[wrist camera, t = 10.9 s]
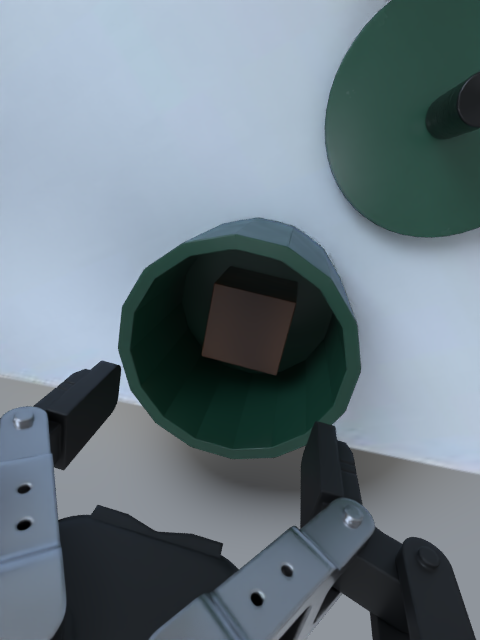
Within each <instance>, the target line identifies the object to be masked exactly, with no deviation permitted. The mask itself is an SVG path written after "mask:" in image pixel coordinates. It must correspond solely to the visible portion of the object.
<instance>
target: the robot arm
mask: <svg viewBox="0 0 480 640" xmlns="http://www.w3.org/2000/svg"><path fill="white" fill-rule="evenodd" d="M120 376H121V367H120V366H119V365H116V364H112V363H109V362H105V361H100V362H99V363H98V364H97V365H96V366H94V367H93V368H92V369H91V370H88V369H84V370H81V371H78V372H76V373H73V374H72V375H71V376H69V377H68V378H67V379H66V380H65V381H64V382H62V383H61V384H60V385H59V386H58V387H57V388H55V389H54V390H53V391H52V392H50V393H49V394H48V395H47V396H45V397H44V398H43V399H41V400H40V401H39V402H38V403H37V404H35V405H34V406H33V407H30V406H26V407H19V408H15V409H12V410H10V411H8V412H7V413H5V414H4V415H3V416H2V417H1V418H0V640H306V639H307V637H308V636H309V634H310V633H311V632H312V630H313V629H314V628H315V627H316V626H317V624H318V623H319V622H320V621H321V620H322V618H323V617H324V615H326V613H327V612H328V611H329V610H330V609H331V607H332V606H333V605H334V604H335V602H336V601H337V600H338V599H339V598H340V596H341V595H342V594H344V595H346V596H348V597H349V598H350V599H352V600H353V601H355V602H357V603H358V604H359V605H361V606H362V607H364V608H365V609H367V610H368V611H370V616H371V627H372V637H373V640H476V638H475V636H474V632H473V629H472V626H471V623H470V620H469V618H468V614H467V611H466V608H465V605H464V602H463V599H462V596H461V593H460V590H459V587H458V584H457V581H456V578H455V575H454V572H453V569H452V566H451V564H450V563H449V561H448V559H447V558H446V556H445V555H444V554H443V553H442V552H441V551H440V550H439V549H438V548H437V547H436V546H434V545H433V544H431V543H430V542H428V541H426V540H424V539H421V538H417V537H410V538H407V539H406V540H405V541H404V542H403V544H401V543H400V542H398V541H396V540H394V539H393V538H391V537H389V536H388V535H386V534H384V533H383V532H381V531H380V530H379V529H377V528H376V527H375V523H374V520H373V517H372V516H371V514H370V513H369V511H368V510H367V509H366V508H365V507H364V506H363V505H362V500H361V495H360V489H359V484H358V479H357V475H356V468H355V462H354V457H353V453H352V452H351V450H350V448H349V447H348V445H347V444H346V443H345V442H341V441H338V440H337V437H336V429H335V426H333V425H329V424H326V423H322V422H318V421H315V423H314V425H313V427H312V430H311V433H310V436H309V439H308V442H307V444H306V447H305V450H304V453H303V457H302V462H301V523H300V524H301V525H300V527H301V528H300V529H298V528H297V527H296V526H292V527H290V528H289V529H288V530H287V531H285V532H284V533H283V534H282V535H281V536H279V537H278V538H277V539H276V540H274V541H273V542H272V543H271V544H270V545H268V546H267V547H266V548H265V549H264V550H262V551H261V552H260V553H259V554H257V555H256V556H255V557H254V558H253V559H251V560H250V561H249V562H248V563H247V564H246V565H244V566H243V567H242V568H241V569H238V568H237V567H236V566H234V564H232V563H231V562H230V561H229V560H228V559H226V558H225V557H223V556H222V555H221V551H222V546H223V543H220V542H217V541H213V540H210V539H207V538H204V537H200V536H197V535H194V534H187V533H186V534H185V533H169V532H157V531H154V530H153V529H151V528H149V527H148V526H146V525H145V524H143V523H141V522H140V521H138V520H137V519H135V518H133V517H132V516H130V515H129V514H126V513H122V512H119V511H116V510H113V509H110V508H106V507H103V506H100V505H97V507H96V508H95V510H94V511H93V513H92V514H91V515H78V516H71V517H67V518H63V519H60V520H58V513H57V501H56V488H55V477H54V467H55V468H58V469H61V470H65V468H66V467H67V466H68V465H69V464H70V462H71V461H72V460H73V459H74V458H75V456H76V455H77V454H78V453H79V452H80V450H81V449H82V448H83V447H84V446H85V444H86V443H87V442H88V441H89V440H90V438H91V437H92V436H93V435H94V434H95V432H96V431H97V430H98V429H99V428H100V426H101V425H102V424H103V423H104V422H105V421H106V419H107V418H108V417H109V416H110V415H111V413H112V412H113V410H114V408H115V406H116V404H117V401H118V394H119V385H120Z"/></svg>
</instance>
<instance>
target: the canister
mask: <svg viewBox="0 0 480 640" xmlns="http://www.w3.org/2000/svg"><path fill="white" fill-rule="evenodd" d="M230 266H233V267H237V268H241V269H245V270H249V271H254V272H258V273H262V274H266V275H270V276H274V277H279V278H283V279H287V280H291V281H295V282H298V290H297V304H296V307H295V311H294V315H293V318H292V322H291V326H290V329H289V333H288V336H287V340H286V344H285V347H284V351H283V355H282V358H281V362H280V366H279V369H278V373H277V375H276V376H275V375H271V374H268V373H264V372H260V371H256V370H252V369H249V368H245V367H241V366H237V365H233V364H230V363H226V362H222V361H218V360H214V359H210V358H207V357H203V356H201V353H202V347H203V342H204V336H205V331H206V325H207V320H208V314H209V309H210V303H211V298H212V292H213V287H214V283H215V282H216V281H217V280H218V279H219V278H220V276H221V275H222V274H223V273H224V272H225V271H226V270H227V269H228V268H229V267H230ZM118 349H119V350H118V351H119V354H120V357H121V361H122V364H123V367H124V370H125V374H126V377H127V380H128V383H129V387H130V390H131V391H132V393H133V394H134V395H135V397H136V398H137V399H138V400H139V402H140V403H141V404H142V406H143V407H144V408H145V410H146V411H147V412H148V414H149V415H150V416H151V418H152V419H153V420H154V421H155V423H157V424H158V425H160V426H161V427H162V428H164V429H165V430H167V431H168V432H170V433H171V434H173V435H174V436H176V437H177V438H179V439H180V440H181V441H183V442H185V443H186V444H187V445H189V446H190V447H193V448H196V449H200V450H203V451H206V452H210V453H213V454H217V455H220V456H223V457H227V458H230V459H249V458H250V459H252V458H275V457H278V456H281V455H283V454H286V453H288V452H290V451H293V450H296V449H298V448H301V447H303V446H306V444H307V442H308V439H309V436H310V433H311V430H312V427H313V425H314V423H315V421H318V422H322V423H326V424H329V425H332V424H333V423H334V422H335V421H336V420H337V419H338V418H339V417H340V416H342V415H343V414H344V412H345V411H346V409H347V406H348V404H349V401H350V399H351V396H352V393H353V391H354V388H355V386H356V383H357V380H358V378H359V375H360V373H361V361H360V349H359V337H358V325H357V322H356V319H355V316H354V314H353V311H352V308H351V306H350V303H349V300H348V298H347V295H346V292H345V290H344V287H343V285H342V282H341V279H340V277H339V275H338V273H337V272H336V270H335V268H334V266H333V264H332V262H331V261H330V259H329V258H328V256H327V254H326V252H325V251H324V249H323V248H322V247H321V246H320V245H318V244H317V243H316V242H315V241H314V240H312V239H311V238H310V237H309V236H308V235H306V234H304V233H303V232H301V231H300V230H298V229H297V228H296V227H294V226H292V225H287V224H284V223H281V222H278V221H273V220H267V219H262V218H252V219H246V220H239V221H235V222H230V223H224V224H222V225H219V226H217V227H215V228H213V229H211V230H209V231H207V232H205V233H203V234H200V235H198V236H196V237H194V238H192V239H190V240H188V241H186V242H184V243H182V244H180V245H179V246H177V247H176V248H174V249H173V250H172V251H170V252H169V253H167V254H166V255H164V256H163V257H161V258H160V259H158V260H157V261H155V262H154V263H152V264H151V265H149V266H148V267H146V268H145V269H144V270H143V272H142V274H141V275H140V277H139V279H138V281H137V282H136V284H135V286H134V287H133V289H132V291H131V292H130V294H129V296H128V298H127V299H126V301H125V303H124V304H123V306H122V313H121V323H120V333H119V343H118Z"/></svg>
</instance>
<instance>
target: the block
mask: <svg viewBox="0 0 480 640" xmlns="http://www.w3.org/2000/svg"><path fill="white" fill-rule="evenodd" d="M297 290H298V282H295V281H291V280H287V279H283V278H279V277H274V276H270V275H266V274H262V273H258V272H254V271H249V270H245V269H241V268H237V267H233V266H230V267H229V268H228V269H227V270H226V271H225V272H224V273H223V274H222V275H221V276H220V278H219V279H218V280H217V281H216V282H215V283H214V287H213V292H212V298H211V303H210V309H209V314H208V320H207V325H206V331H205V336H204V342H203V347H202V353H201V356H203V357H207V358H210V359H214V360H218V361H222V362H226V363H230V364H233V365H237V366H241V367H245V368H249V369H252V370H256V371H260V372H264V373H268V374H271V375H275V376H276V375H277V373H278V369H279V366H280V362H281V358H282V355H283V351H284V347H285V344H286V340H287V336H288V333H289V329H290V326H291V322H292V318H293V315H294V311H295V307H296V304H297Z"/></svg>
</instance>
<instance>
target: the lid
mask: <svg viewBox="0 0 480 640" xmlns="http://www.w3.org/2000/svg"><path fill="white" fill-rule="evenodd" d="M325 145H326V151H327V157H328V161H329V164H330V168H331V171H332V174H333V176H334V178H335V180H336V183H337V185H338V187H339V188H340V190H341V191H342V193H343V195H344V196H345V198H346V199H347V200H348V201H349V202H350V204H351V205H352V206H353V207H354V208H355V209H356V210H357V211H358V212H360V213H361V214H362V215H363V216H364V217H366V218H367V219H369V220H370V221H372V222H373V223H375V224H376V225H379V226H381V227H383V228H385V229H387V230H389V231H392V232H396V233H399V234H402V235H408V236H414V237H431V238H432V237H443V236H450V235H455V234H460V233H464V232H467V231H470V230H473V229H476V228H479V227H480V0H391V1H390V2H389V3H388V4H387V5H386V6H384V7H383V8H382V9H381V10H380V11H379V12H378V13H377V14H376V15H375V16H374V17H373V18H372V19H371V20H370V21H369V22H368V23H367V24H366V25H365V27H364V28H363V29H362V31H361V32H360V33H359V35H358V36H357V37H356V39H355V40H354V41H353V43H352V45H351V46H350V48H349V50H348V51H347V53H346V55H345V56H344V58H343V60H342V62H341V65H340V67H339V69H338V71H337V74H336V76H335V79H334V82H333V85H332V88H331V91H330V95H329V100H328V105H327V109H326V119H325Z"/></svg>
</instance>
